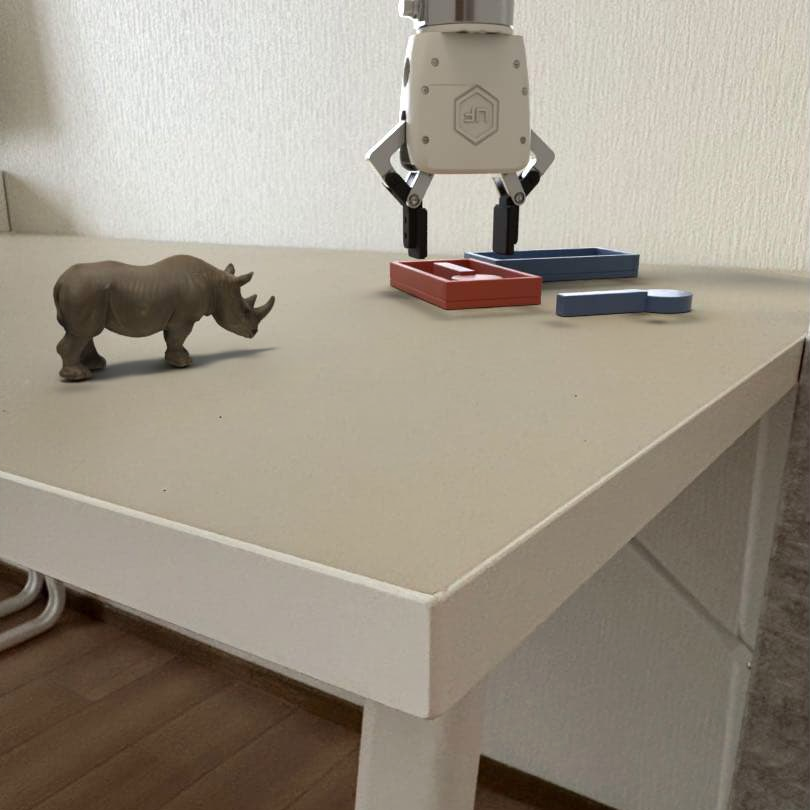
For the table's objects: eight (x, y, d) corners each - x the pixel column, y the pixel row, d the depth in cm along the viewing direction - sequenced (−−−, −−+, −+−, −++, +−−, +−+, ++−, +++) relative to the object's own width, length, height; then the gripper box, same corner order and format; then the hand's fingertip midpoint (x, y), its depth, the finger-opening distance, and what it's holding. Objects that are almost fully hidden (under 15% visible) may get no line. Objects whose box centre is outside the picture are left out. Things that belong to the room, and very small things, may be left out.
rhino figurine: (296, 353, 54) (290, 250, 51) (68, 385, 47) (48, 267, 44) (265, 342, 57) (258, 245, 55) (46, 371, 50) (27, 260, 47)
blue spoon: (572, 319, 64) (574, 298, 64) (547, 311, 68) (548, 291, 67) (702, 311, 67) (704, 291, 67) (670, 303, 71) (672, 284, 70)
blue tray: (596, 267, 94) (598, 247, 93) (638, 276, 86) (640, 254, 86) (463, 273, 89) (463, 252, 89) (495, 284, 82) (496, 260, 81)
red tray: (389, 285, 82) (389, 261, 81) (471, 281, 84) (472, 258, 83) (445, 309, 69) (446, 281, 68) (541, 304, 71) (542, 277, 70)
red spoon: (418, 280, 80) (418, 263, 80) (461, 278, 81) (461, 261, 81) (461, 297, 71) (462, 277, 70) (509, 294, 72) (510, 275, 71)
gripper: (369, 4, 62) (375, 264, 70) (588, 14, 67) (572, 256, 74) (344, 19, 69) (351, 255, 76) (545, 26, 74) (534, 248, 81)
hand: (460, 254), depth 75 cm, fingers open, 7 cm apart
